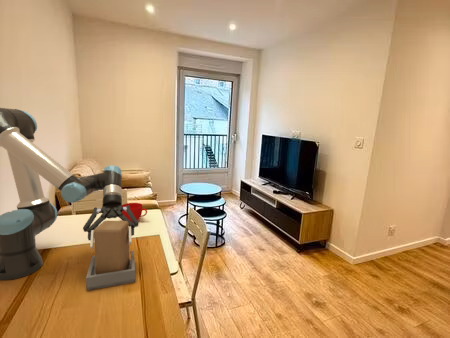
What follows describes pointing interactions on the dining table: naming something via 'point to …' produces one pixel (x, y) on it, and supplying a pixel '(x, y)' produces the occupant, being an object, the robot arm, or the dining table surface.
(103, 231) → the wooden block
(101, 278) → the end cap cradle
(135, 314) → the dining table surface
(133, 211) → the ceramic cup
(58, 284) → the dining table surface
